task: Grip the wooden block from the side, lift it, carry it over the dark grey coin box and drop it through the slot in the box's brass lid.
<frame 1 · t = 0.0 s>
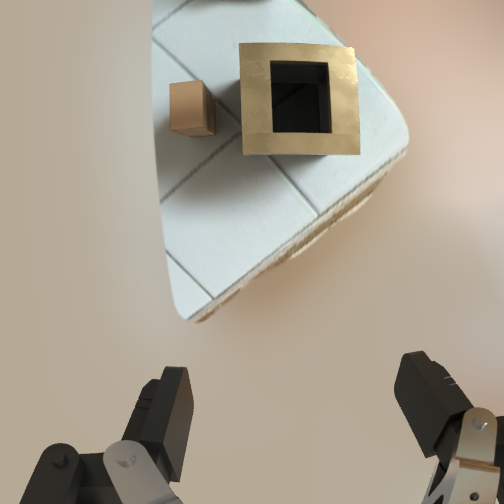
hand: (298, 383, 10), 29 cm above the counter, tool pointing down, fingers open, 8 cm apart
coin box: (285, 114, 34), on the counter
wooden block: (202, 118, 35), on the counter
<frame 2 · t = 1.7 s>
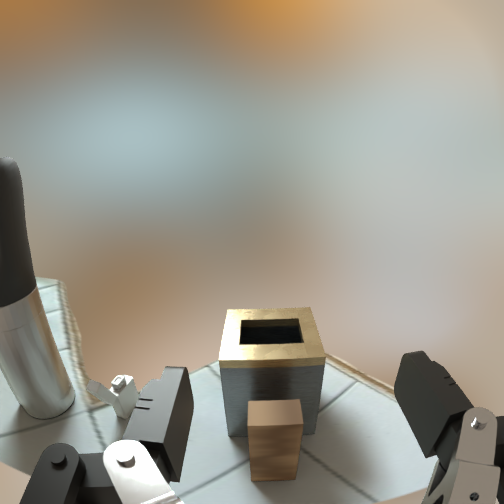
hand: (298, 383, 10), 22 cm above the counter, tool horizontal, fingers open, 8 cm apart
coin box: (270, 407, 36), on the counter
wooden block: (272, 469, 26), on the counter
lighter: (123, 415, 34), on the counter
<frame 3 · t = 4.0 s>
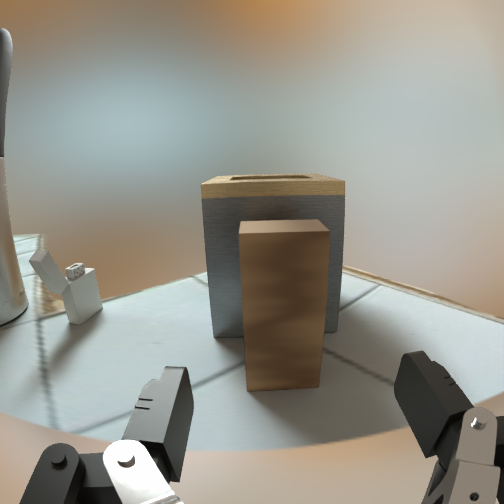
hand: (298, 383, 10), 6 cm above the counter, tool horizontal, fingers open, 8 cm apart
coin box: (272, 307, 29), on the counter
wooden block: (281, 375, 19), on the counter
lighter: (78, 322, 26), on the counter
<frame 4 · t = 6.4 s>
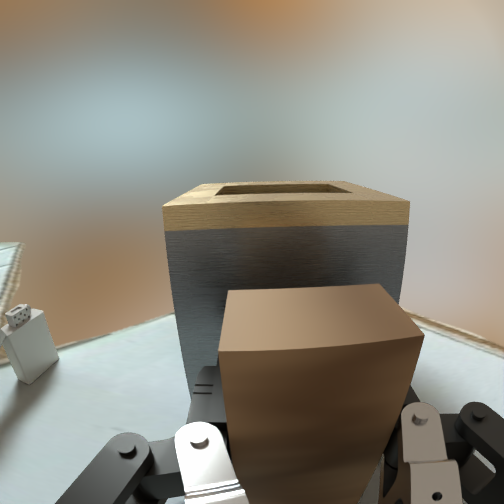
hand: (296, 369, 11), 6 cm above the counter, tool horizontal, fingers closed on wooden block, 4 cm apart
coin box: (280, 371, 20), on the counter
wooden block: (294, 498, 10), on the counter, touching gripper
lighter: (28, 380, 17), on the counter
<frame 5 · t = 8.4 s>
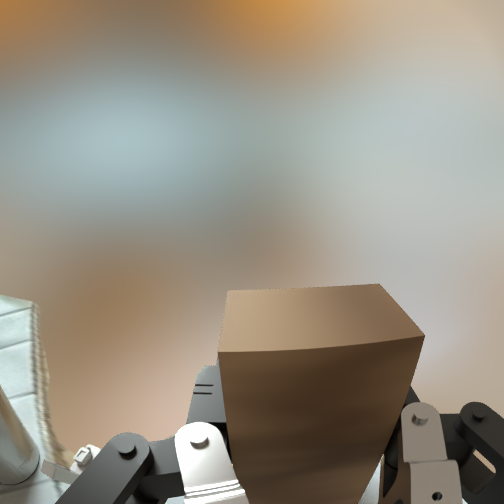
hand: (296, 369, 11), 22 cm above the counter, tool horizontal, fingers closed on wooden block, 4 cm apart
wooden block: (294, 499, 10), point 16 cm above the counter, touching gripper
lighter: (95, 490, 21), on the counter
when the fingers open (17 cm above the counter, at t = 10.6 s): wooden block drops 11 cm, resting in coin box.
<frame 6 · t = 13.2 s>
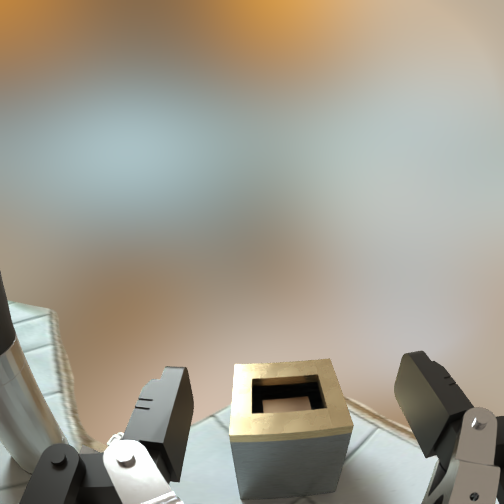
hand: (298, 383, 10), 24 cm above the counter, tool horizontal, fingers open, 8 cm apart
coin box: (285, 463, 29), on the counter
wooden block: (285, 464, 29), resting in coin box
lighter: (123, 474, 27), on the counter
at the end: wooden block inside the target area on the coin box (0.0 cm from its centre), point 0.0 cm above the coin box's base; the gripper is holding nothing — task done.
